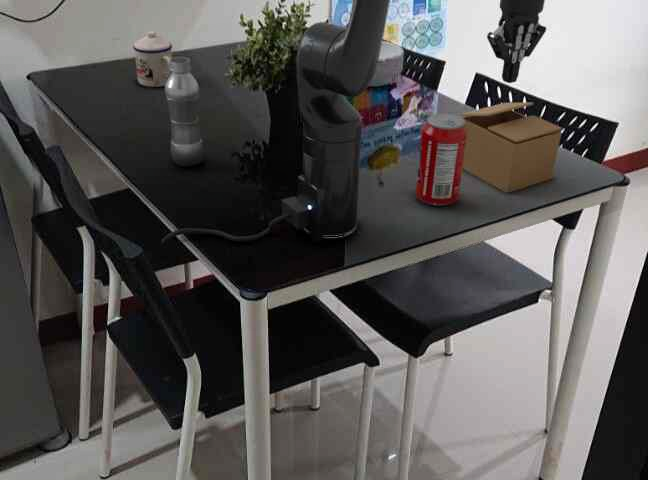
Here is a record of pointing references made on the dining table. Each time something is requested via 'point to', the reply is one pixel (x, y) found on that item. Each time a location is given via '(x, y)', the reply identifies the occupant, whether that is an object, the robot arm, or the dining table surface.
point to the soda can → (441, 159)
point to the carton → (510, 149)
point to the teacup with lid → (153, 60)
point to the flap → (496, 109)
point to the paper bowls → (388, 64)
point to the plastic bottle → (184, 113)
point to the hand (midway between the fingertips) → (509, 81)
